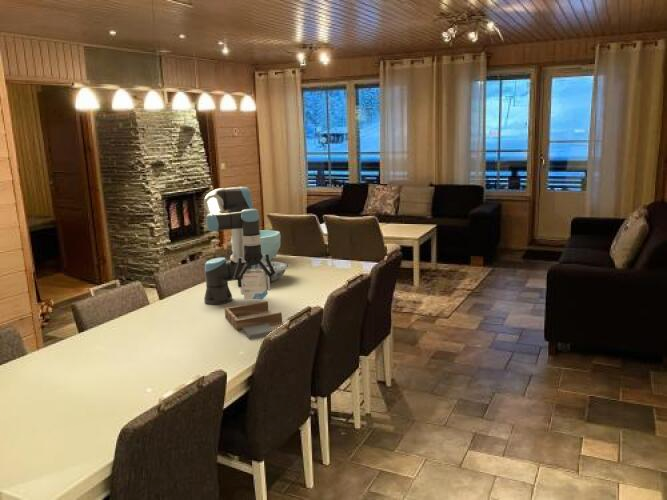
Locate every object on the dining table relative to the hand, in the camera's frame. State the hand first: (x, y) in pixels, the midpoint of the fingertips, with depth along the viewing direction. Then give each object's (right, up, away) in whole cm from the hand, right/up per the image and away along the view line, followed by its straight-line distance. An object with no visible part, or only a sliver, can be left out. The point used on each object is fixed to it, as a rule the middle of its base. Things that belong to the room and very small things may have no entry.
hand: (255, 292), depth 253 cm
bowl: (-18, +8, +144) cm, 145 cm away
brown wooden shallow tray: (-4, -15, +22) cm, 27 cm away
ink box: (0, -2, +1) cm, 2 cm away
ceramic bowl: (-9, -1, +97) cm, 98 cm away
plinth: (+1, -19, +4) cm, 19 cm away
